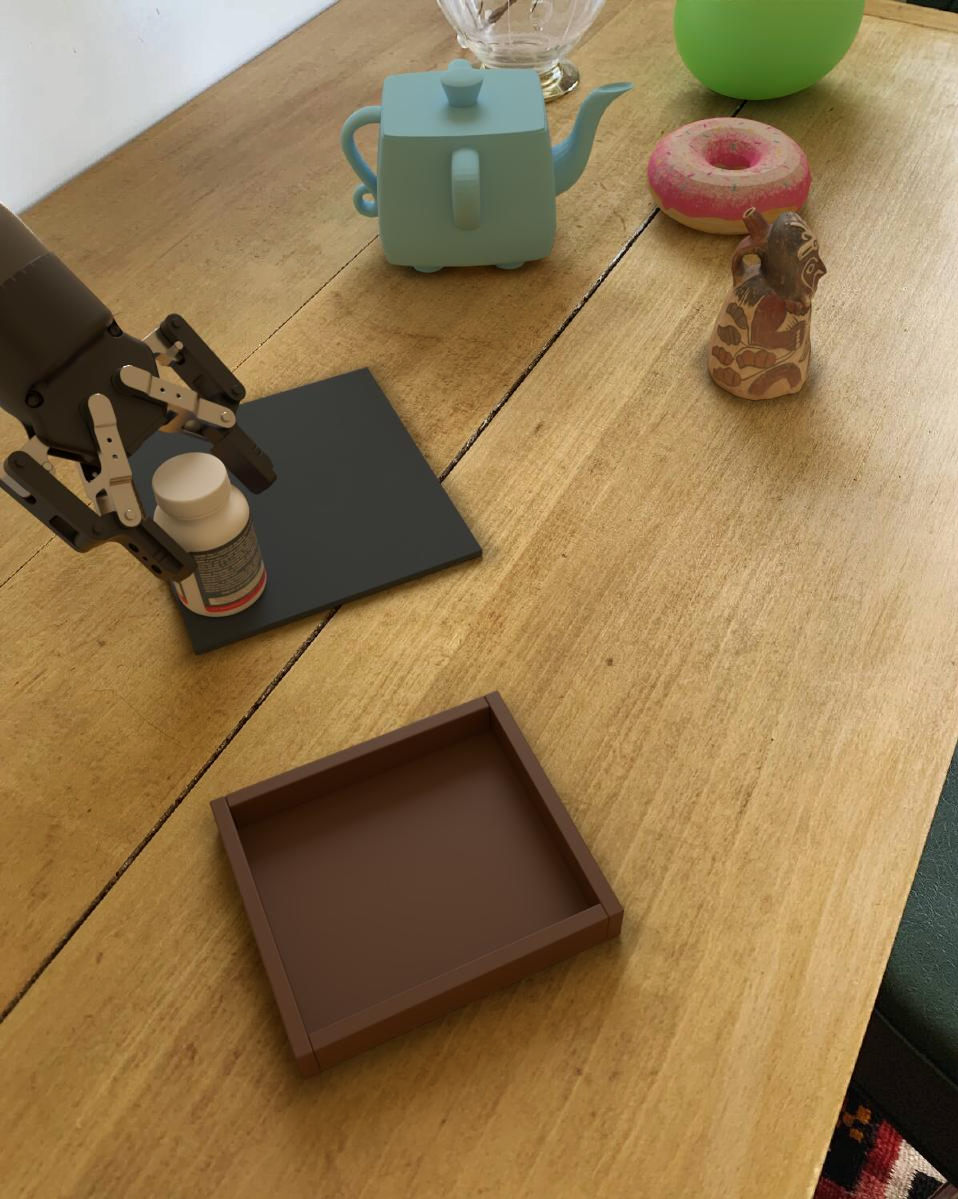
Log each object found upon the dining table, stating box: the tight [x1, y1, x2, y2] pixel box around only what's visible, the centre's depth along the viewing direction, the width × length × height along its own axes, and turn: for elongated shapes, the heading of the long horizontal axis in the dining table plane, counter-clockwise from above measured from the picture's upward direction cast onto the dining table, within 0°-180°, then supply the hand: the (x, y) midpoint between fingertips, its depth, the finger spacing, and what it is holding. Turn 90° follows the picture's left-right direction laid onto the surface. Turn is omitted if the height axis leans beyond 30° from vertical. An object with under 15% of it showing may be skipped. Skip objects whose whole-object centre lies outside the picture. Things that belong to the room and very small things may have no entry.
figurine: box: [706, 207, 828, 401], centre depth 74 cm, size 7×7×12 cm
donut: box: [646, 117, 813, 235], centre depth 92 cm, size 14×13×5 cm
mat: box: [128, 366, 484, 656], centre depth 71 cm, size 18×20×1 cm
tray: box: [209, 690, 625, 1080], centre depth 53 cm, size 16×14×2 cm
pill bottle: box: [152, 452, 266, 617], centre depth 63 cm, size 5×5×9 cm
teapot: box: [339, 58, 635, 273], centre depth 86 cm, size 18×16×14 cm
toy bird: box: [672, 0, 866, 101], centre depth 102 cm, size 18×17×15 cm
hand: (229, 528), depth 61 cm, fingers open, 7 cm apart
